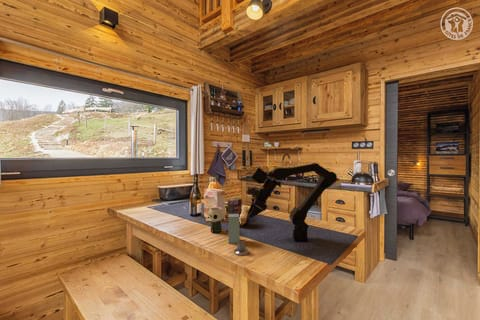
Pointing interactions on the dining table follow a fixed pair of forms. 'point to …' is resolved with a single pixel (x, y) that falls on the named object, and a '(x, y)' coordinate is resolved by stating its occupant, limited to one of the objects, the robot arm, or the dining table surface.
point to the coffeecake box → (213, 200)
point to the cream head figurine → (216, 218)
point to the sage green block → (233, 228)
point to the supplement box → (235, 206)
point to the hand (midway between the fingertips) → (249, 215)
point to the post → (241, 249)
